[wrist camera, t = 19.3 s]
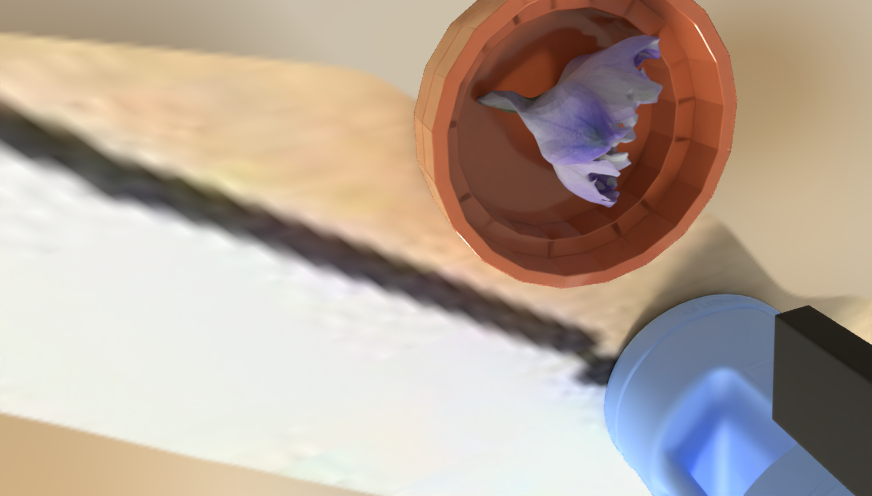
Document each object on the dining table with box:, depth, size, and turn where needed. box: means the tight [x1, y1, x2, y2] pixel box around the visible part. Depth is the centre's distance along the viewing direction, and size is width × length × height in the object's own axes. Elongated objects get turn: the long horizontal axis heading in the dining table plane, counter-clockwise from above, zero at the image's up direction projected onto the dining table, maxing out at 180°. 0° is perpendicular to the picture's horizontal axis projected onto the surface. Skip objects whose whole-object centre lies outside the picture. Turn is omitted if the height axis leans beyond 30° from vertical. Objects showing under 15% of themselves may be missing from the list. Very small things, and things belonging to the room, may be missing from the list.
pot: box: [414, 0, 737, 288], centre depth 35 cm, size 17×17×6 cm
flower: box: [477, 35, 663, 207], centre depth 34 cm, size 9×9×10 cm
